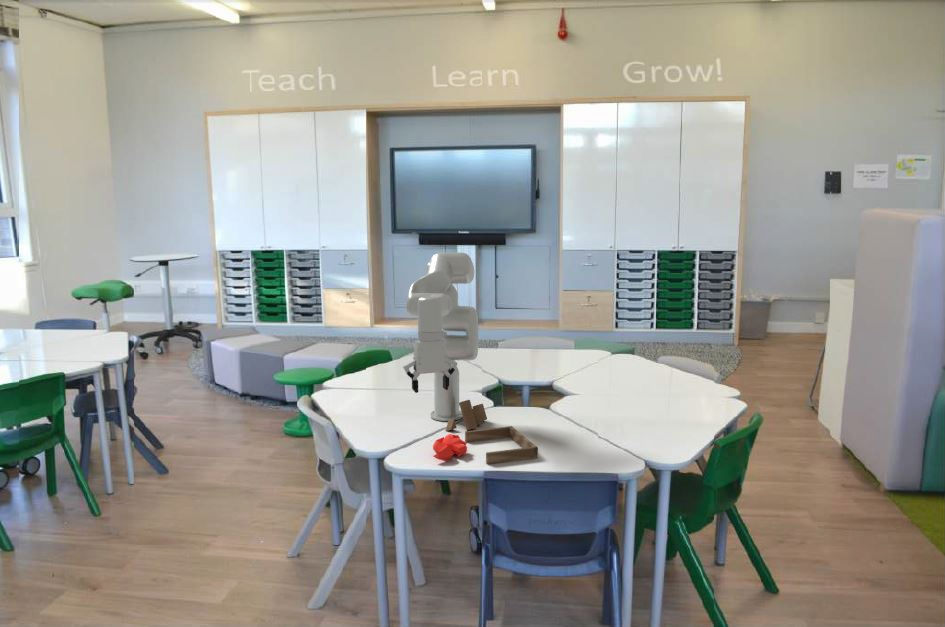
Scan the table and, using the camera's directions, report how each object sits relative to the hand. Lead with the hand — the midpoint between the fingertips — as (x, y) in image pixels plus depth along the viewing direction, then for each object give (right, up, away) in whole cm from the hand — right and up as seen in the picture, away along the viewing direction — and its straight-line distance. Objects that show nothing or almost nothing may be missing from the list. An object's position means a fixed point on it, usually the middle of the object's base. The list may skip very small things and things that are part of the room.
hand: (430, 390), depth 218 cm
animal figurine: (+6, -22, +8) cm, 24 cm away
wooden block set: (+12, -18, +37) cm, 42 cm away
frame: (+22, -21, +13) cm, 33 cm away
